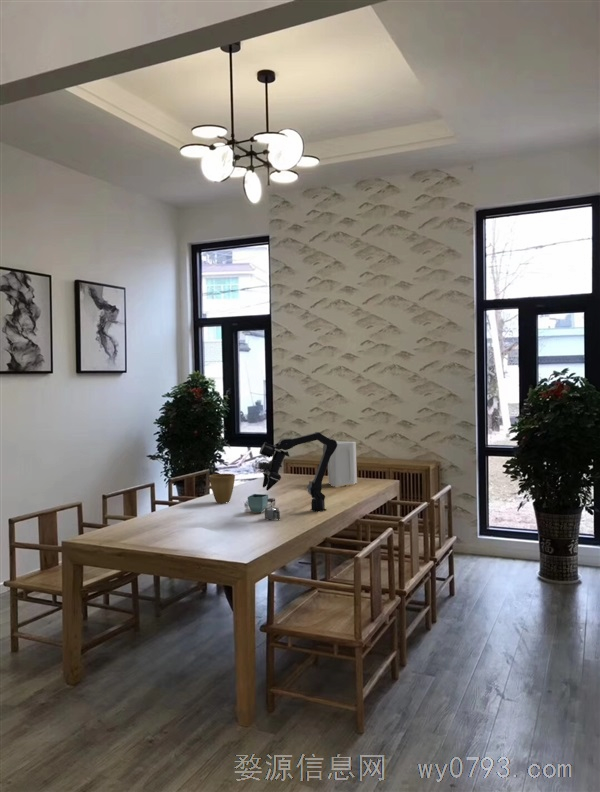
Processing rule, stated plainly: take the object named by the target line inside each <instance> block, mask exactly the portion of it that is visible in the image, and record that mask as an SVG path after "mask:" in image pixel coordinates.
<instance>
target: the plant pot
mask: <svg viewBox="0 0 600 792" xmlns="http://www.w3.org/2000/svg"><path fill="white" fill-rule="evenodd" d="M235 479H236V474H234V473H215V474H210V475H209V483H210V487H211V490H212V494H213V497H214V500H215V502H217V503H216V504H219V503H225V504H227V503H226V502H229V501H231V498H232V494H233V492H234V491H233V490H234V485H235ZM229 503H230V502H229Z"/></svg>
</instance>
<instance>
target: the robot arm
mask: <svg viewBox="0 0 600 792" xmlns="http://www.w3.org/2000/svg"><path fill="white" fill-rule="evenodd" d="M314 441H318V442H320V443H321V444H323V445H322V455H321V458H320V462H319V464H318V467H317V470H316V472H315V476H314V478H313V479H312V480H309V481H308V486H307V487H306V488H307V493H308V494H309V496H311V498H312V499H311V502H310V503H311V507H310V511H311V510H313V511H312V512H316V511H317V513H318V511H320V512H323V510H325V511H327V508H326V505H325V500H326V499H325V498H326V495H325V494H324V493H323V492H322V489H323V479H324V477H325V474H326V472H327V469H328V463H329V460H330V457H331V455H332V454H333V453H334V451H335V449H336V448H337V442H338V441H337V440H335V439H334V438H330V437H327V436H325V435H324V434H323V433H321V432H319V431H315V432H313V433H309V434H305V435H301V436H297V437H284V438H280V439H279V440H278V442H276V443H274V444H273V445H272V444H270V443H268V442H266V441H265V442H264V443H263V444H262V446H261V447H260V449H259V452H258V454H259V455H262V456H264V457H266V458H268V459H270V458H271V460H269V462H266V461H263V462H262V461H261V462H260V461H258V464H257V469H258V470H260V471H261V470H262V474H263V482H262V488H265V490H266V491H269V490H271V488H272V487H273V486H275V485H276V484H277V483H279V481H280V480H281V479H282V475H281V474H280V473H279V472H280V469H281V468H282V467H283V462H284V459H285V458H286V457H290V454H289V451H288V450H290V449H293V448H294V447H296V446H299V445H302V444H306V443H310V442H314Z"/></svg>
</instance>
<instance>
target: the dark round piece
mask: <svg viewBox="0 0 600 792" xmlns="http://www.w3.org/2000/svg"><path fill="white" fill-rule="evenodd" d="M267 501H268V503H270V507H271V508H270V507H267V508H268V509H267V510H276V508H277V507H276V508H272V507H273V502H276V498H274V497H273V498H272V497H271V498H270V497H268V499H267Z"/></svg>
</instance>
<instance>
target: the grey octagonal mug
mask: <svg viewBox="0 0 600 792" xmlns="http://www.w3.org/2000/svg"><path fill="white" fill-rule="evenodd" d="M268 508H271V506H270V507H266V508H265V511H264V520H266V519H278V520H277V521H280V520H281V513H280V512H281V511H279V507H276V506H275V507H273V506H272V508H276V510H267V509H268ZM279 519H280V520H279Z"/></svg>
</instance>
